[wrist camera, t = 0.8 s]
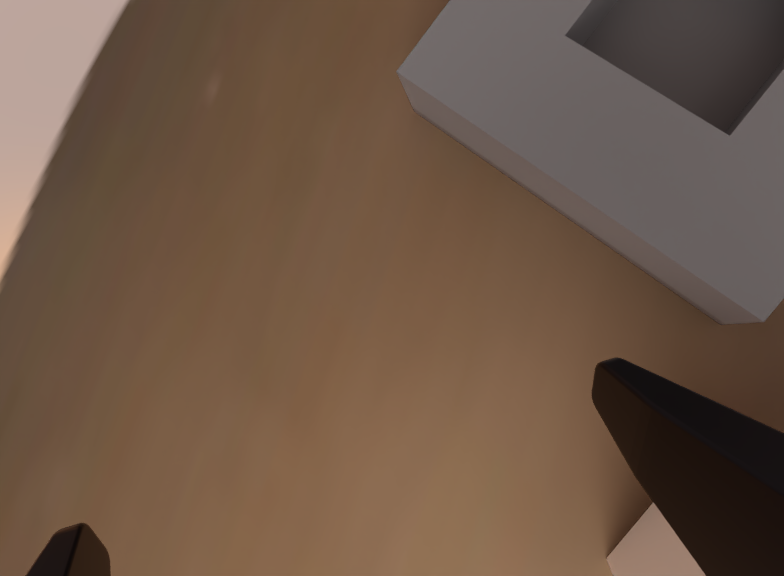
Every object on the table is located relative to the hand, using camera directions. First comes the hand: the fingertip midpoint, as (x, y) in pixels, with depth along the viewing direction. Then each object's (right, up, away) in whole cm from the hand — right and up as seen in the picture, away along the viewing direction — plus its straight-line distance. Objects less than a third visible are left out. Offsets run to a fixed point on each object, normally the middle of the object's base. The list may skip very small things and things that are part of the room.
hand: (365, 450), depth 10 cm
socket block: (+11, +12, +11) cm, 20 cm away
